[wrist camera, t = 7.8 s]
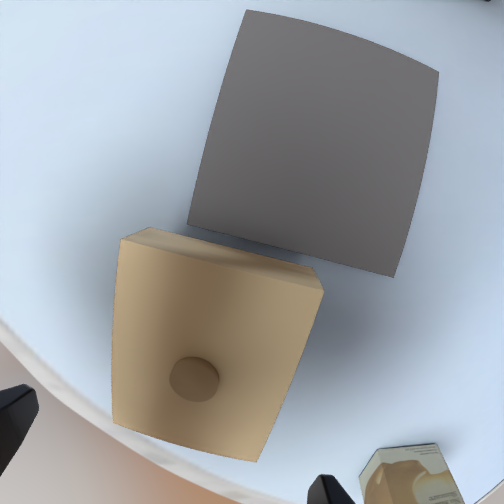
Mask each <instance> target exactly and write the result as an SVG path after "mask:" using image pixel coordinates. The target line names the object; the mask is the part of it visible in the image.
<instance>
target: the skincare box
mask: <svg viewBox="0 0 504 504" xmlns="http://www.w3.org/2000/svg"><path fill="white" fill-rule="evenodd" d="M359 481H360V485H361V490H362V495H363V500H364V504H465V503H464V501H463V498H462V496H461V494H460V492H459V489H458V487H457V485H456V483H455V481H454V479H453V476H452V474H451V472H450V470H449V468H448V466H447V464H446V462H445V460H444V458H443V456H442V454H441V452H440V450H439V448H438V446H437V444H431V445H422V446H411V447H400V448H389V449H378V450H377V451H376V452H375V454H374V455H373V457H372V458H371V460H370V461H369V463H368V464H367V466H366V467H365V469H364V470H363V472H362V473H361V475H360V477H359Z"/></svg>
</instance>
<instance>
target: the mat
mask: <svg viewBox="0 0 504 504" xmlns="http://www.w3.org/2000/svg"><path fill="white" fill-rule="evenodd" d="M438 77H439V72H438V71H436V70H434V69H432V68H430V67H428V66H426V65H424V64H422V63H420V62H418V61H416V60H414V59H412V58H409V57H407V56H405V55H403V54H400V53H398V52H396V51H394V50H391V49H389V48H386V47H384V46H381V45H379V44H376V43H374V42H371V41H368V40H366V39H363V38H360V37H357V36H354V35H351V34H348V33H345V32H342V31H339V30H336V29H332V28H329V27H325V26H322V25H318V24H315V23H311V22H307V21H303V20H299V19H294V18H290V17H285V16H281V15H276V14H270V13H265V12H259V11H253V10H246V12H245V15H244V18H243V20H242V23H241V26H240V29H239V32H238V35H237V38H236V41H235V44H234V47H233V50H232V53H231V57H230V60H229V63H228V66H227V69H226V73H225V76H224V79H223V83H222V86H221V89H220V93H219V96H218V100H217V103H216V107H215V110H214V114H213V118H212V121H211V125H210V129H209V132H208V136H207V140H206V144H205V148H204V152H203V156H202V160H201V164H200V168H199V172H198V176H197V181H196V185H195V189H194V193H193V198H192V202H191V207H190V211H189V216H188V221H187V224H188V225H192V226H196V227H200V228H204V229H208V230H212V231H216V232H219V233H223V234H227V235H231V236H235V237H239V238H243V239H247V240H251V241H255V242H259V243H263V244H267V245H271V246H274V247H278V248H282V249H286V250H290V251H294V252H298V253H302V254H305V255H309V256H313V257H317V258H321V259H325V260H328V261H332V262H336V263H340V264H344V265H347V266H351V267H355V268H359V269H363V270H366V271H370V272H374V273H378V274H381V275H385V276H389V277H392V278H394V275H395V272H396V269H397V266H398V263H399V260H400V257H401V254H402V251H403V248H404V245H405V241H406V238H407V235H408V231H409V228H410V224H411V221H412V217H413V213H414V210H415V206H416V202H417V198H418V194H419V190H420V186H421V181H422V177H423V172H424V168H425V163H426V158H427V153H428V148H429V142H430V137H431V131H432V125H433V118H434V111H435V104H436V96H437V87H438Z"/></svg>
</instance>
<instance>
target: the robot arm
mask: <svg viewBox="0 0 504 504" xmlns="http://www.w3.org/2000/svg"><path fill="white" fill-rule="evenodd" d="M486 1H490V0H486ZM38 411H39V404H38V400H37V396H36V391H35V390H34V389H33V388H32V387H30V386H28V385H26V384H22V385H18V386H15V387H12V388H8V389H5V390H1V391H0V476H1V475H2V473H3V472H4V470H5V469H6V467H7V465H8V464H9V462H10V461H11V459H12V458H13V456H14V455H15V453H16V452H17V450H18V449H19V447H20V445H21V444H22V442H23V440H24V438H25V436H26V434H27V432H28V430H29V428H30V427H31V425H32V423H33V421H34V419H35V417H36V415H37V413H38ZM307 504H355V502H354V501H353V500H352V499H351V497H350V496H349V495H348V494H347V492H346V491H345V490H344V489H343V487H342V486H341V485H340V483H339V482H338V481H337V480H336V478H335V477H334V476H333V475H325V474H321V475H319V476H318V477H317V478H316V480H315V481H314V482H313V484H312V485H311V486H310V488H309V490H308V497H307Z"/></svg>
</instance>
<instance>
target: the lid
mask: <svg viewBox="0 0 504 504" xmlns="http://www.w3.org/2000/svg"><path fill="white" fill-rule="evenodd" d="M323 294H324V289H323V287H322V285H321V283H320V281H319V279H318V277H317V275H316V273H315V271H314V270H313V268H311V267H307V266H303V265H299V264H295V263H291V262H287V261H283V260H279V259H275V258H271V257H267V256H263V255H259V254H255V253H251V252H247V251H243V250H239V249H235V248H231V247H227V246H223V245H219V244H215V243H211V242H207V241H203V240H199V239H195V238H191V237H187V236H183V235H179V234H175V233H171V232H167V231H163V230H159V229H155V228H151V227H149V228H146V229H144V230H141V231H139V232H137V233H134V234H132V235H129V236H127V237H124V238H122V239H121V241H120V249H119V257H118V265H117V275H116V285H115V297H114V311H113V329H112V368H111V376H112V415H113V423H115V424H118V425H120V426H123V427H126V428H128V429H131V430H134V431H136V432H139V433H142V434H145V435H148V436H151V437H154V438H157V439H160V440H163V441H167V442H170V443H173V444H177V445H180V446H184V447H187V448H191V449H195V450H199V451H203V452H207V453H211V454H215V455H220V456H225V457H229V458H234V459H240V460H245V461H251V462H257V460H258V458H259V456H260V454H261V452H262V450H263V447H264V445H265V443H266V441H267V439H268V436H269V434H270V432H271V430H272V427H273V425H274V423H275V420H276V418H277V416H278V413H279V411H280V409H281V406H282V404H283V402H284V399H285V397H286V394H287V392H288V389H289V387H290V384H291V382H292V379H293V377H294V374H295V372H296V369H297V366H298V364H299V361H300V359H301V356H302V353H303V351H304V348H305V345H306V342H307V340H308V337H309V334H310V331H311V329H312V326H313V323H314V320H315V317H316V314H317V311H318V308H319V306H320V303H321V300H322V297H323Z"/></svg>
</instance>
